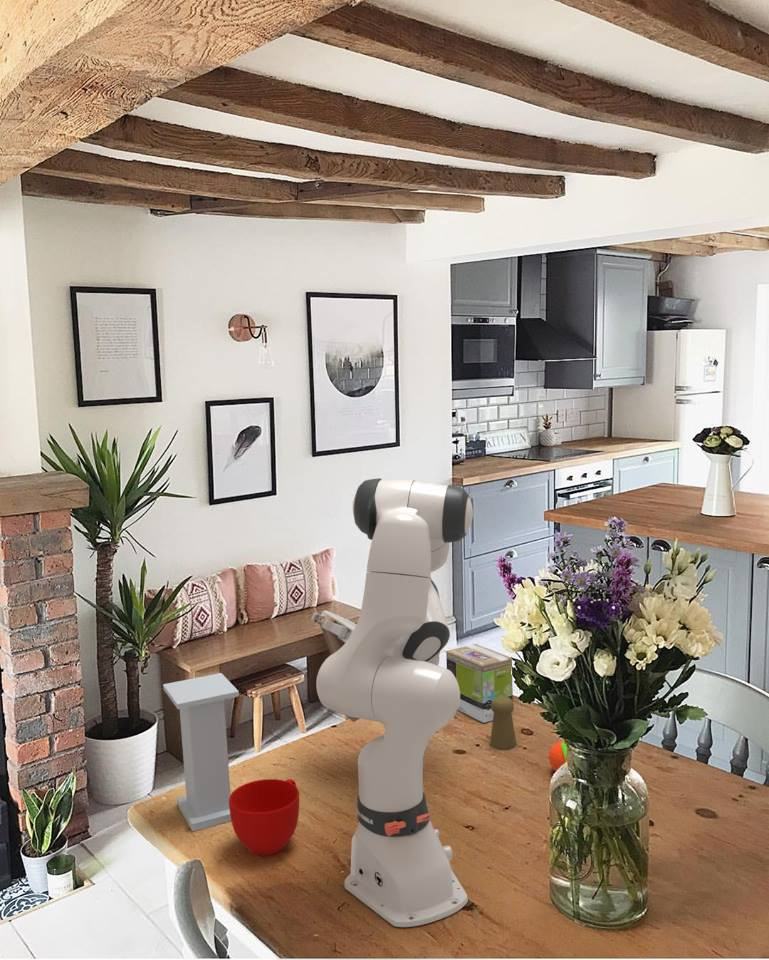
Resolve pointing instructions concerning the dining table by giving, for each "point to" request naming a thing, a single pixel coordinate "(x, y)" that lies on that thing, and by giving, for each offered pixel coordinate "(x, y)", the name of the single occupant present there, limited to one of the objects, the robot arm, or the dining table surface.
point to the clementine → (558, 755)
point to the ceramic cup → (265, 814)
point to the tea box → (480, 679)
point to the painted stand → (204, 748)
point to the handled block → (333, 644)
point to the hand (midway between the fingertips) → (318, 620)
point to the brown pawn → (502, 724)
